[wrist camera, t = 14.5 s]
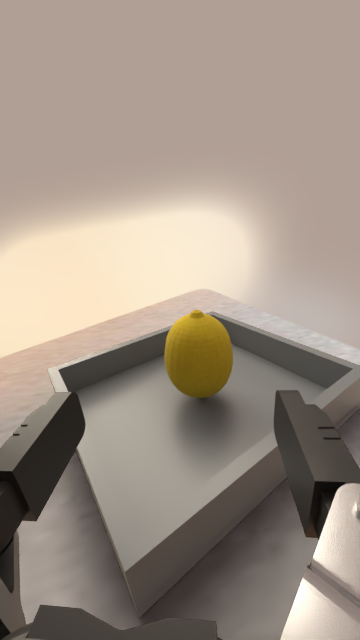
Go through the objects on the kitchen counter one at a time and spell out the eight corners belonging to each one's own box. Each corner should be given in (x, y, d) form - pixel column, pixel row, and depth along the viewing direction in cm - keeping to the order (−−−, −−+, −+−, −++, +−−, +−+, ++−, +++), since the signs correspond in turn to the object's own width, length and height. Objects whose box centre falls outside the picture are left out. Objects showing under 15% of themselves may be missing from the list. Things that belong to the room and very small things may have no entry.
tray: (57, 400, 25) (47, 369, 24) (213, 336, 35) (212, 311, 34) (139, 618, 11) (124, 572, 10) (361, 406, 21) (369, 369, 19)
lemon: (243, 389, 23) (245, 304, 20) (212, 430, 19) (209, 330, 16) (191, 372, 26) (186, 296, 23) (155, 403, 22) (144, 316, 19)
